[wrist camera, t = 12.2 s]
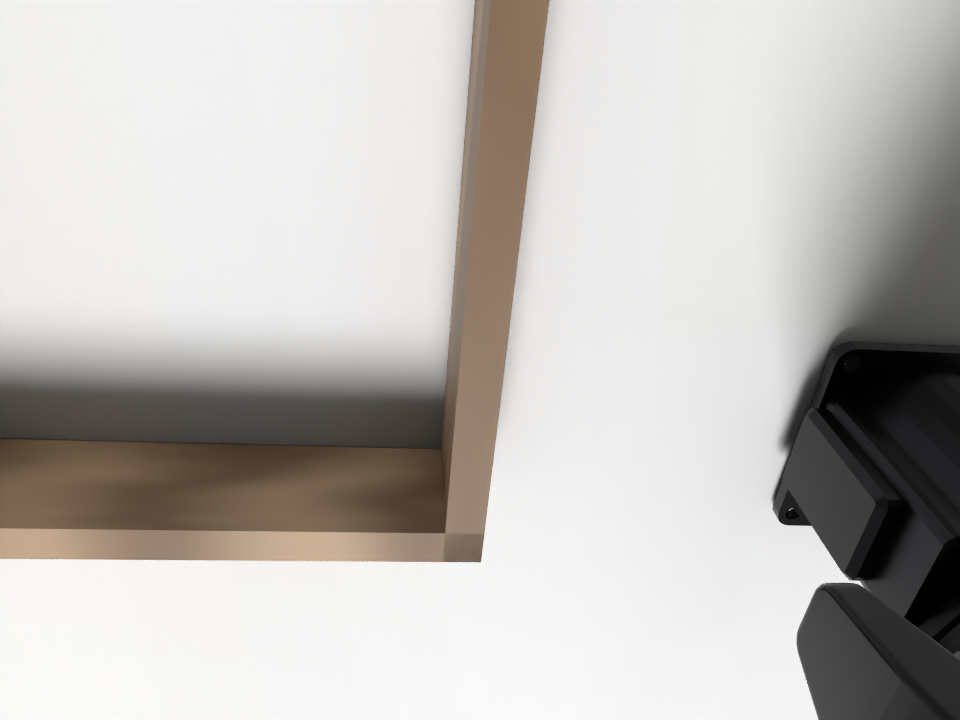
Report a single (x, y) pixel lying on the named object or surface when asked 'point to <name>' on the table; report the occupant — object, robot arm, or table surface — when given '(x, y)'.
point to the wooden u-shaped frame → (318, 469)
